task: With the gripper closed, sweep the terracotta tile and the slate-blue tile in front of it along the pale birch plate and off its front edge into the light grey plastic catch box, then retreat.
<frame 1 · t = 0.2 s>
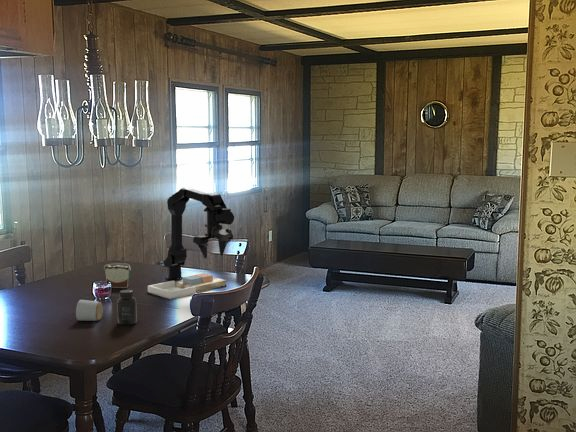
hand: (213, 256, 286), 14 cm above the table, fingers open, 9 cm apart
slate tile: (192, 282, 287), point 2 cm above the table, touching birch plate
birch plate: (200, 286, 291), on the table
supplement bottle: (127, 323, 236), on the table
catch box: (171, 292, 279), on the table
terracotta tile: (203, 280, 292), point 2 cm above the table, touching birch plate
white cylinder: (90, 319, 240), on the table
food container: (119, 286, 291), on the table
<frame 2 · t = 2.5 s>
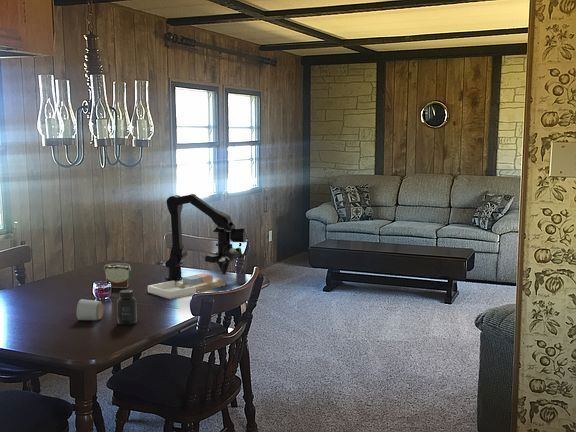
hand: (224, 274, 301), 3 cm above the table, fingers closed
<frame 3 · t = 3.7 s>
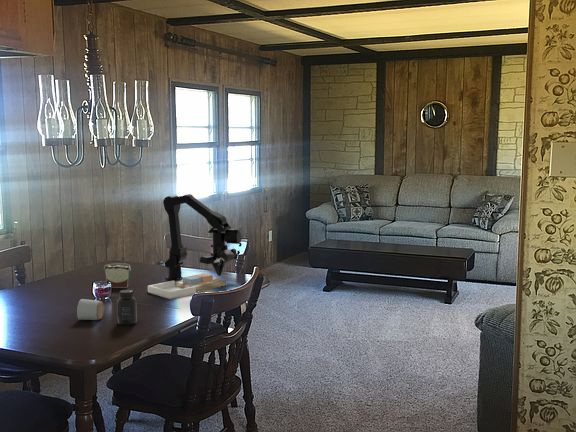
hand: (219, 275, 299), 3 cm above the table, fingers closed
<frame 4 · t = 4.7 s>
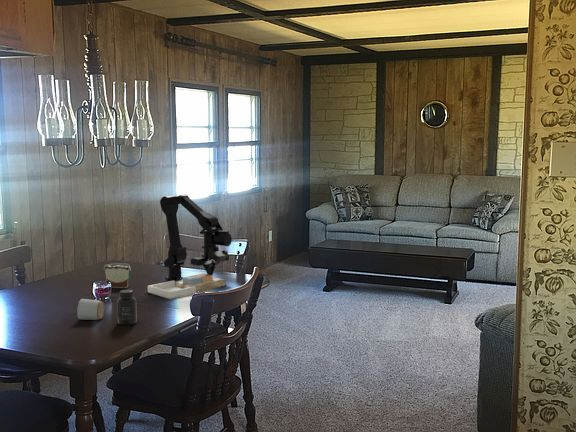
hand: (210, 277, 295), 3 cm above the table, fingers closed
terracotta tile: (203, 280, 292), point 2 cm above the table, touching birch plate, gripper
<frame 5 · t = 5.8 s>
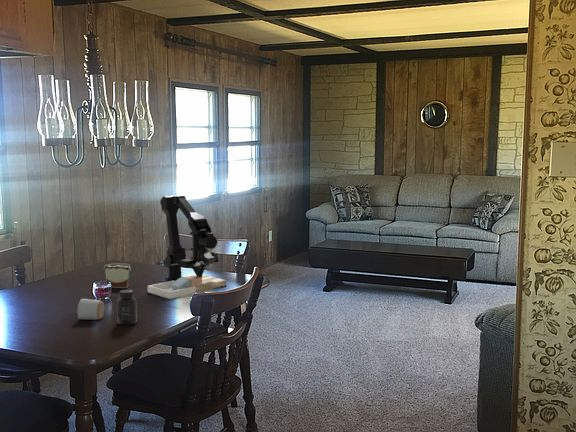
hand: (199, 279, 290), 3 cm above the table, fingers closed
slate tile: (181, 286, 283), point 2 cm above the table, tilted 25°
terracotta tile: (192, 282, 287), point 3 cm above the table, touching gripper
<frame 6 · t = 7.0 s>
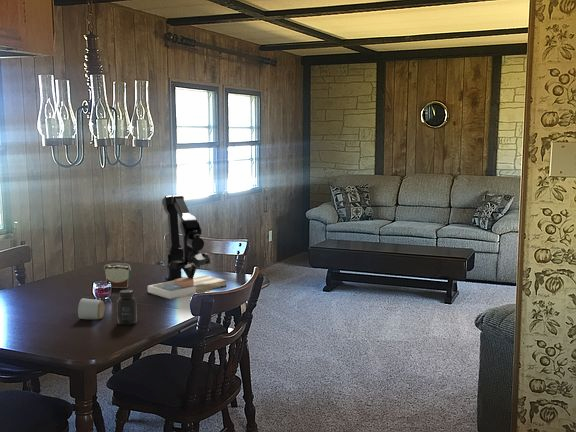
hand: (190, 281, 286), 3 cm above the table, fingers closed
slate tile: (172, 291, 280), point 1 cm above the table, touching terracotta tile
terracotta tile: (184, 285, 283), point 2 cm above the table, touching birch plate, gripper, slate tile
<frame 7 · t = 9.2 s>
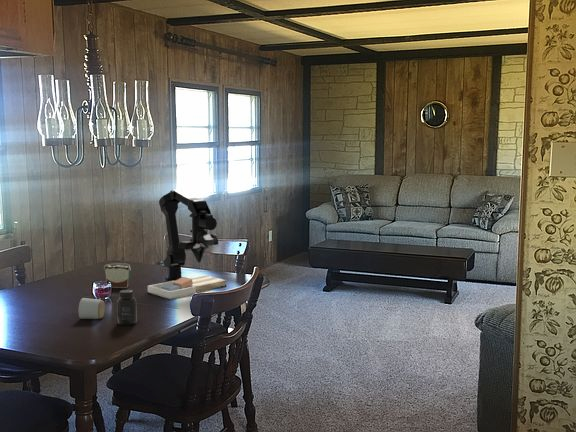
hand: (199, 262, 289), 11 cm above the table, fingers closed
slate tile: (171, 291, 279), resting on catch box, touching terracotta tile
terracotta tile: (183, 285, 283), point 2 cm above the table, tilted 13°, touching birch plate, slate tile
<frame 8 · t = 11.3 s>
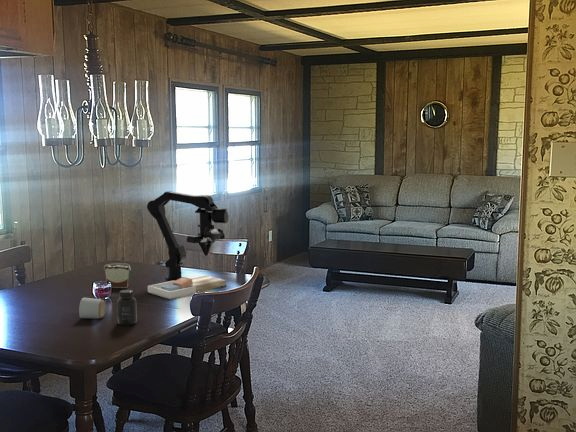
hand: (206, 255, 301), 12 cm above the table, fingers closed
at the end: terracotta tile inside the target area on the catch box (6.2 cm from its centre), point 2.2 cm above the catch box's base; slate tile inside the target area on the catch box (0.2 cm from its centre), point 0.5 cm above the catch box's base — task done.
